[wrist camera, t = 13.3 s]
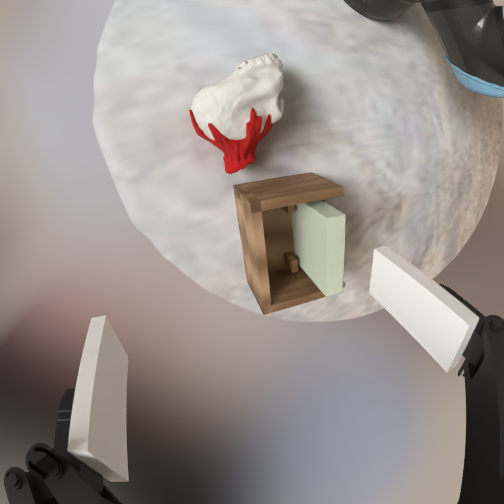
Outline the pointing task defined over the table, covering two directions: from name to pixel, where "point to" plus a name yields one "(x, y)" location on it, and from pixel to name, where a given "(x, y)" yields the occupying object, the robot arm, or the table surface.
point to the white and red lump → (240, 109)
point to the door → (320, 244)
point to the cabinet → (277, 237)
